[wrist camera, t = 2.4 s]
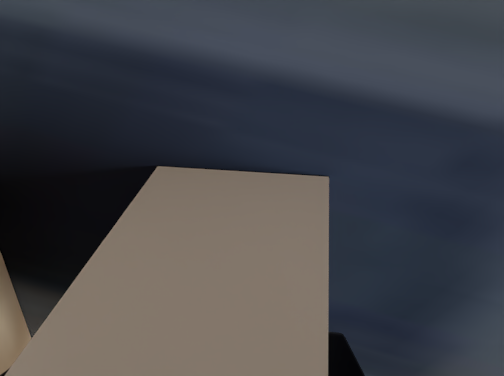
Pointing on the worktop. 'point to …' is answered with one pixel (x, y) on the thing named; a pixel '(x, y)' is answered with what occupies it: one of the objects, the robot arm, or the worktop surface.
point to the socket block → (10, 322)
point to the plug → (199, 283)
